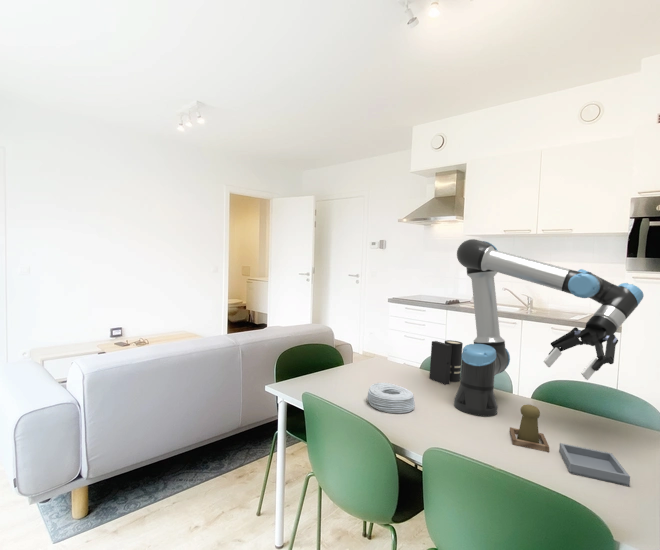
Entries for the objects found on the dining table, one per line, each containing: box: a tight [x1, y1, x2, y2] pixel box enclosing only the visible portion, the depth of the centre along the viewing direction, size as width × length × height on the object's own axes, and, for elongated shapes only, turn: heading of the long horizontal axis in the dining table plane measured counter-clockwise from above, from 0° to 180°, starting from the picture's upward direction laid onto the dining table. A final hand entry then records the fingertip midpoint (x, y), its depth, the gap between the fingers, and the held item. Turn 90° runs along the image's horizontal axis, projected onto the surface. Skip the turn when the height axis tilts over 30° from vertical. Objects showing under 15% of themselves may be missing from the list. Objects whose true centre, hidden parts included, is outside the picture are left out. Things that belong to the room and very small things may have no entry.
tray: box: [558, 442, 631, 487], centre depth 98 cm, size 13×13×2 cm
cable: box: [367, 382, 416, 414], centre depth 136 cm, size 18×18×6 cm
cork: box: [516, 404, 541, 444], centre depth 112 cm, size 6×6×11 cm
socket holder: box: [509, 427, 550, 453], centre depth 112 cm, size 10×10×2 cm
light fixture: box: [428, 339, 463, 386], centre depth 171 cm, size 10×14×18 cm
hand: (564, 370), depth 114 cm, fingers open, 13 cm apart
